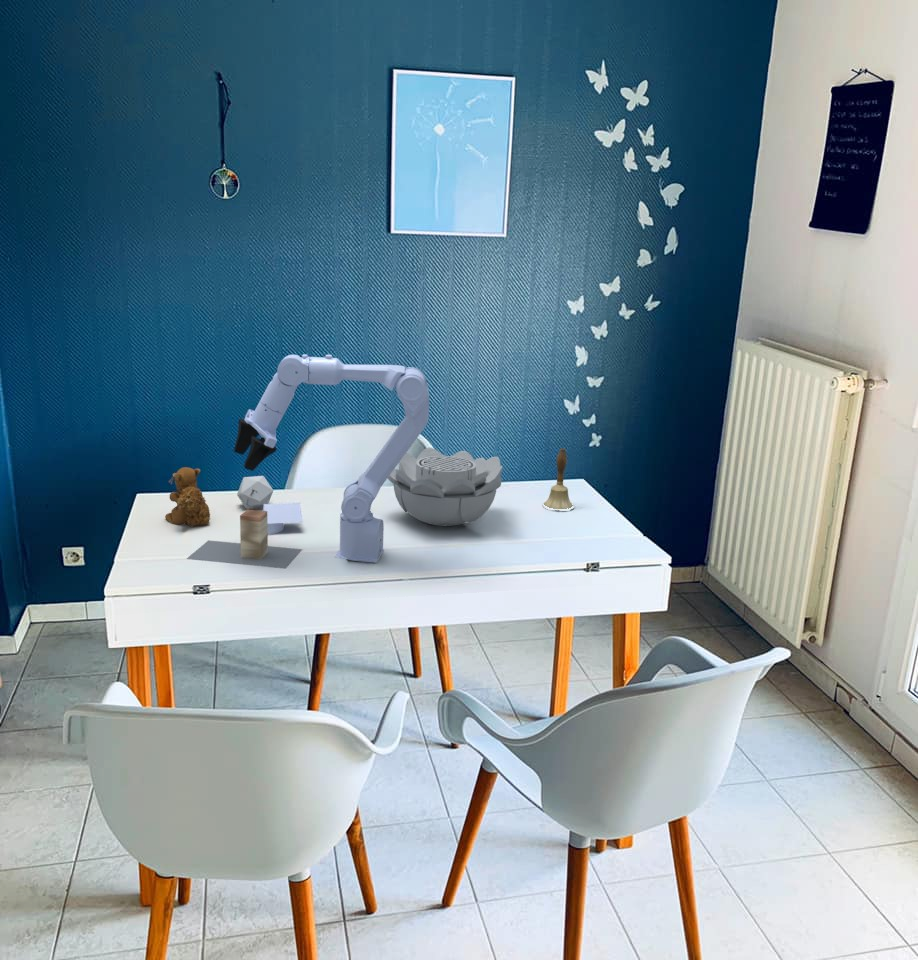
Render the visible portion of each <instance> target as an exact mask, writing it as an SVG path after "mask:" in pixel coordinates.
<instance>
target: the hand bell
mask: <svg viewBox="0 0 918 960" xmlns="http://www.w3.org/2000/svg"><path fill="white" fill-rule="evenodd" d="M567 459H568V458H567V454H566V449H565V448H560V449H559V452H558V453H557V457H556V468H557V476H556V478H557V479H556V484H555V485H553V486H551V488H550V492H549V493H550V494H549V495H548V498H547V500H545V502H543V504H544V505H545V506H547V507H549V508H553V509H567V508H568V509H569V508H571V507H572V506H574V504H573V503H572V502H571V500H570V497H569V488H568V487H567V486H565V485H564V472H565V469H566V466H567V462H568V461H567ZM572 504H573V505H572Z"/></svg>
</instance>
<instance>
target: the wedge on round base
mask: <svg viewBox="0 0 918 960" xmlns="http://www.w3.org/2000/svg"><path fill="white" fill-rule="evenodd" d="M261 511H267V522H268V535H270V536H271V535H274V534H278V533H280V532H281V533H282V531H283V530H284V524H289V523H290V524H291V523H303V522H304V520H303V514H302V512H303V511H302V505H301V502H285V503H283V502H282V503H281V502H280V503H268V504H264V505H263V508H262V509H261Z"/></svg>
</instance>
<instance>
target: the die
mask: <svg viewBox="0 0 918 960" xmlns="http://www.w3.org/2000/svg"><path fill="white" fill-rule="evenodd" d="M273 494H274V489H273V488H272V485H270V483H269V481H268V480H267V478H266V477H265V476H264V475H257V476H256V475H254V476H244V477H242V480H241V483H240V486H239V489H238V491H237V494H236V496H237V497H238V498H239V500H240V502H241V504H243V506H244V507H245V509H246V510H247V509H249V510H258V509H263V505H264V504H270V500H271V497H272V495H273Z"/></svg>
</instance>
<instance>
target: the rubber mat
mask: <svg viewBox="0 0 918 960" xmlns="http://www.w3.org/2000/svg"><path fill="white" fill-rule="evenodd" d="M302 551H303V548H295V547H293V548H292V547H282V546H272V545H268V552H267V554H266V555H265V556H264V557H263V558H262V559H253V558H243V557H241V542H240V543H239V542H230V541H229V542H228V541H218V540H207V541H206V542H204V543H203V544H202V545H201V546H200V547H198V548H197V549H196V550H195V551H194V552H193V553H191V554H190V555H189V556H188V557H187V558H186V559H187V560H192V561H193V560H195V561H204V562H205V561H206V562H215V563H222V564H223V563H225V564H235V565H236V564H237V565H244V566H245V565H246V566H255V567H266V568H267V567H268V568H275V569H276V568H278V569H287V568H288V566H290V565H291V563H292V562H293V561H294V560H295V559H296V557H297V556H298V555H299V554H300V553H301V552H302Z"/></svg>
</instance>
